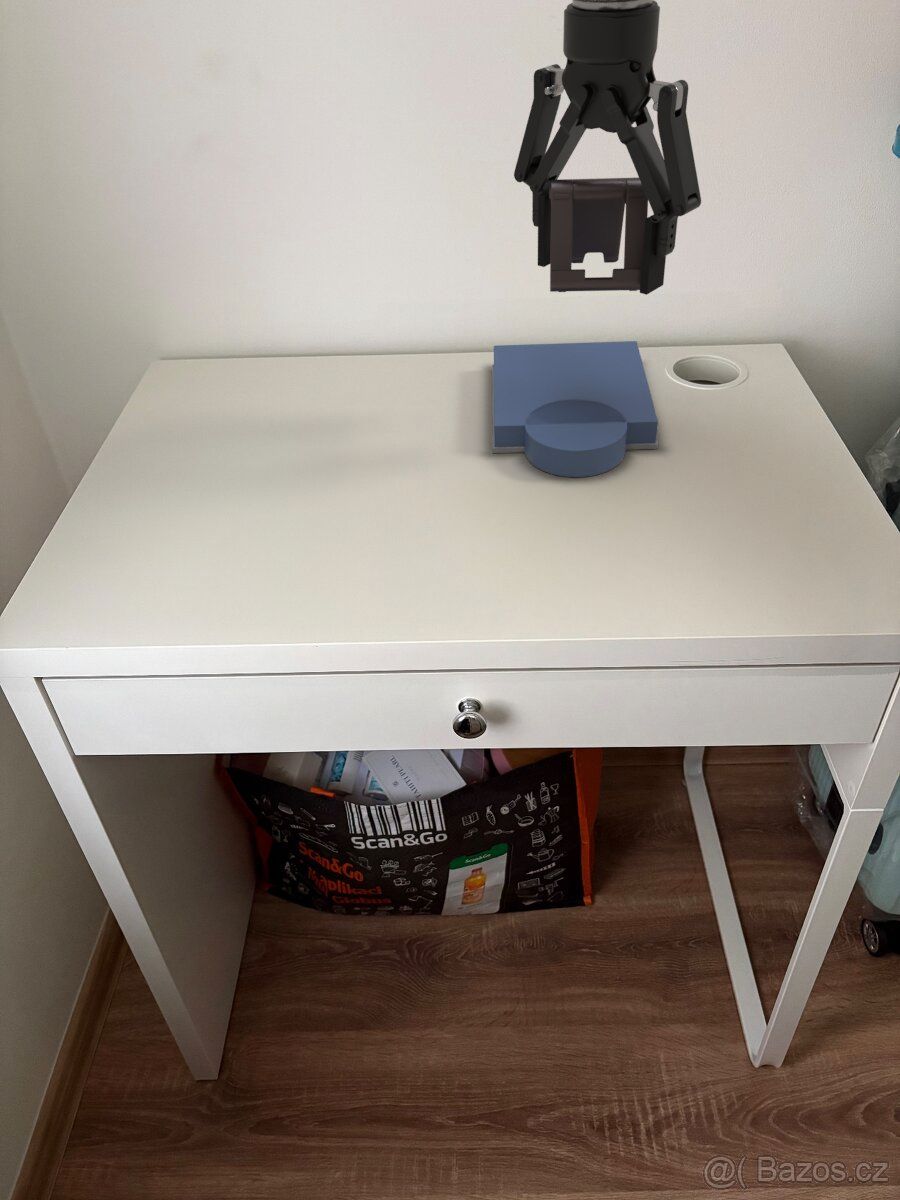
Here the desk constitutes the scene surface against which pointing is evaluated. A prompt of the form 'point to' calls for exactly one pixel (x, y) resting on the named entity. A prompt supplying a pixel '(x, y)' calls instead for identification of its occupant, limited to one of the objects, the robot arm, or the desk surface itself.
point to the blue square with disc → (572, 405)
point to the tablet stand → (596, 231)
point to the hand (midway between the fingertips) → (598, 275)
